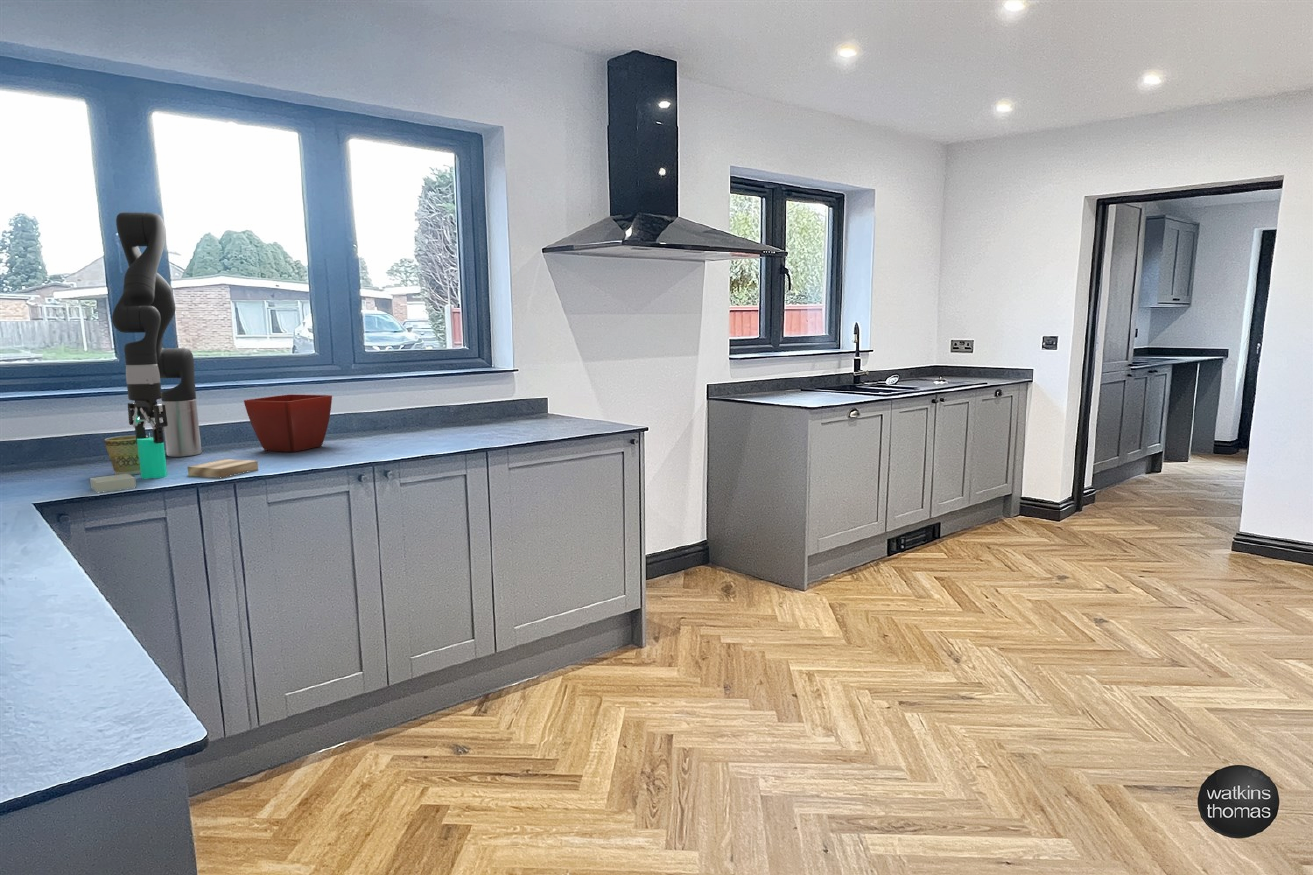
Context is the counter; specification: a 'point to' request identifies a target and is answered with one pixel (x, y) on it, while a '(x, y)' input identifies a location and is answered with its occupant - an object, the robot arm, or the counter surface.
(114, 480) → the sage block
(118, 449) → the ceramic cup
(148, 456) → the candle
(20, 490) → the counter surface
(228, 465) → the oak block
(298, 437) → the plant pot
